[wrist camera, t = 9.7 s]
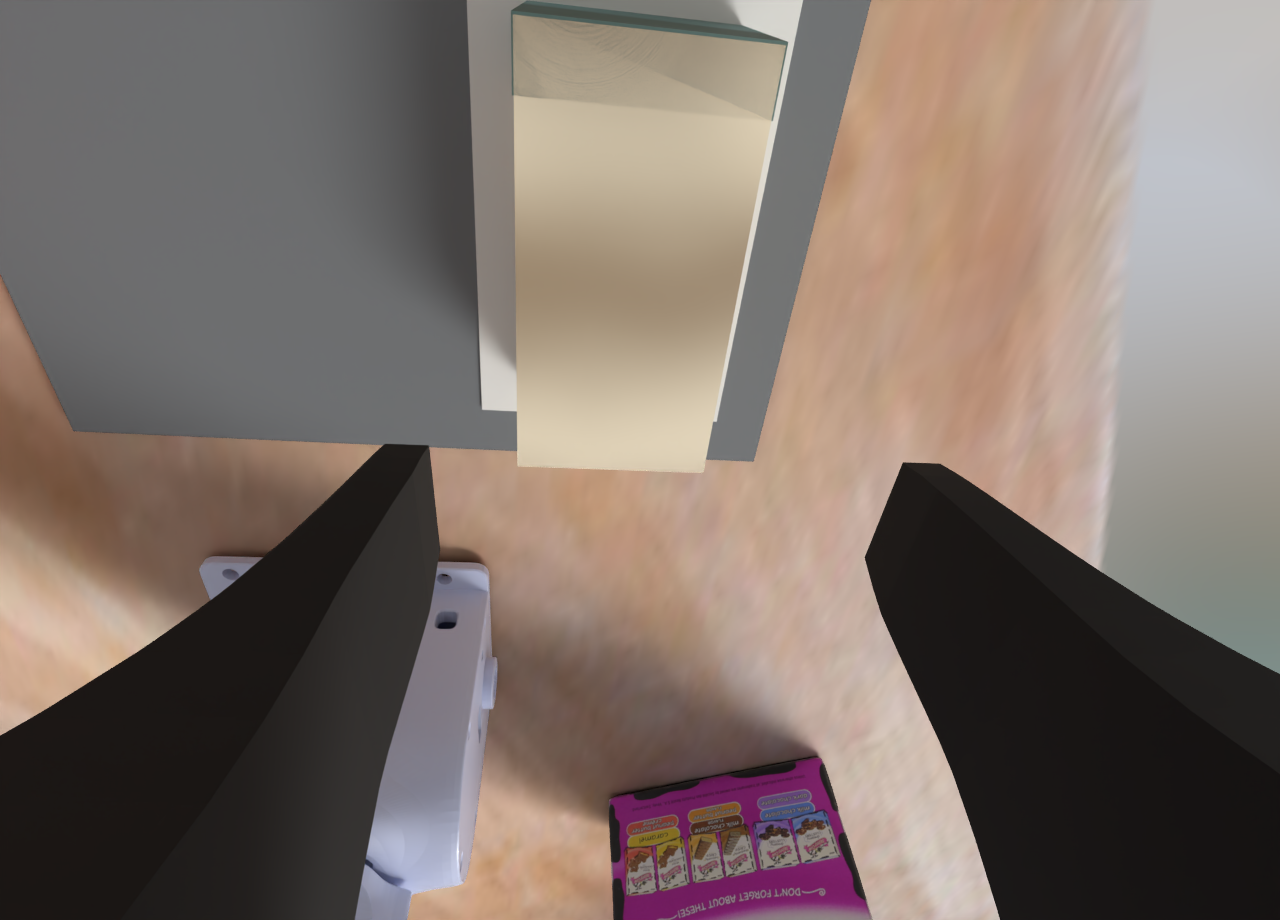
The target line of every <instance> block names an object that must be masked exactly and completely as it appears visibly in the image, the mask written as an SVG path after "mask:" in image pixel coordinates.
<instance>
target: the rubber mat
mask: <svg viewBox="0 0 1280 920" xmlns="http://www.w3.org/2000/svg"><path fill="white" fill-rule="evenodd" d="M525 1H527V0H0V274H1V276H2V279H3V281H4V283H5V285H6V287H7V289H8V291H9V294H10V296H11V298H12V300H13V302H14V304H15V306H16V309H17V311H18V313H19V315H20V317H21V319H22V322H23V324H24V326H25V328H26V330H27V332H28V334H29V337H30V339H31V341H32V343H33V345H34V347H35V349H36V352H37V354H38V356H39V358H40V360H41V362H42V364H43V367H44V369H45V371H46V373H47V375H48V377H49V379H50V382H51V384H52V386H53V388H54V390H55V392H56V394H57V397H58V399H59V401H60V403H61V405H62V407H63V410H64V412H65V414H66V416H67V418H68V420H69V422H70V425H71V427H72V429H73V431H80V432H102V433H125V434H147V435H169V436H192V437H214V438H237V439H259V440H281V441H304V442H326V443H349V444H371V445H384V444H407V445H429V447H438V448H461V449H483V450H506V451H517V371H516V274H515V176H514V95H512V63H511V10H512V9H514V8H516V7H517V6H519V5H520V4H522V3H524V2H525ZM528 1H537V2H546V3H554V4H563V5H572V6H580V7H589V8H598V9H606V10H615V11H624V12H632V13H641V14H650V15H658V16H667V17H676V18H684V19H693V20H702V21H710V22H719V23H728V24H736V25H743V26H746V27H748V28H751V29H754V30H757V31H760V32H762V33H765V34H768V35H771V36H773V37H776V38H779V39H782V40H784V41H787V42H788V47H787V52H786V57H785V62H784V67H783V72H782V77H781V83H780V88H779V93H778V98H777V103H776V108H775V113H774V118H773V121H771V125H770V130H769V136H768V141H767V146H766V151H765V156H764V162H763V167H762V172H761V177H760V182H759V187H758V193H757V198H756V203H755V208H754V213H753V218H752V224H751V229H750V234H749V239H748V244H747V249H746V255H745V260H744V265H743V270H742V275H741V280H740V286H739V291H738V296H737V301H736V306H735V311H734V317H733V322H732V327H731V332H730V337H729V343H728V348H727V353H726V358H725V363H724V368H723V374H722V379H721V384H720V389H719V394H718V399H717V405H716V410H715V415H714V420H713V425H712V430H711V436H710V441H709V446H708V451H707V456H706V459H707V460H730V461H752V462H754V458H755V454H756V450H757V446H758V442H759V438H760V435H761V431H762V427H763V423H764V419H765V415H766V411H767V407H768V403H769V399H770V395H771V391H772V387H773V383H774V379H775V376H776V372H777V368H778V364H779V360H780V356H781V352H782V348H783V344H784V340H785V336H786V332H787V328H788V324H789V321H790V317H791V313H792V309H793V305H794V301H795V297H796V293H797V289H798V285H799V281H800V277H801V273H802V269H803V265H804V262H805V258H806V254H807V250H808V246H809V242H810V238H811V234H812V230H813V226H814V222H815V218H816V214H817V210H818V207H819V203H820V199H821V195H822V191H823V187H824V183H825V179H826V175H827V171H828V167H829V163H830V159H831V155H832V151H833V148H834V144H835V140H836V136H837V132H838V128H839V124H840V120H841V116H842V112H843V108H844V104H845V100H846V96H847V93H848V89H849V85H850V81H851V77H852V73H853V69H854V65H855V61H856V57H857V53H858V49H859V45H860V41H861V37H862V34H863V30H864V26H865V22H866V18H867V14H868V10H869V6H870V2H871V0H528Z"/></svg>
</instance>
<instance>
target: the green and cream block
mask: <svg viewBox="0 0 1280 920" xmlns="http://www.w3.org/2000/svg"><path fill="white" fill-rule="evenodd" d="M787 47H788V42H787V41H784V40H782V39H779V38H776V37H773V36H771V35H768V34H765V33H762V32H760V31H757V30H754V29H751V28H748V27H746V26H743V25H736V24H728V23H719V22H710V21H702V20H693V19H684V18H676V17H667V16H658V15H650V14H641V13H632V12H624V11H615V10H606V9H598V8H589V7H580V6H572V5H563V4H554V3H546V2H537V1H528V0H527V1H525V2H524V3H522V4H520V5H519V6H517V7H516V8H514V9H512V10H511V63H512V95H514V176H515V274H516V371H517V466H523V467H551V468H578V469H606V470H633V471H661V472H689V473H703V472H704V467H705V461H706V456H707V451H708V446H709V441H710V436H711V430H712V425H713V420H714V415H715V410H716V405H717V399H718V394H719V389H720V384H721V379H722V374H723V368H724V363H725V358H726V353H727V348H728V343H729V337H730V332H731V327H732V322H733V317H734V311H735V306H736V301H737V296H738V291H739V286H740V280H741V275H742V270H743V265H744V260H745V255H746V249H747V244H748V239H749V234H750V229H751V224H752V218H753V213H754V208H755V203H756V198H757V193H758V187H759V182H760V177H761V172H762V167H763V162H764V156H765V151H766V146H767V141H768V136H769V130H770V125H771V121H773V118H774V113H775V108H776V103H777V98H778V93H779V88H780V83H781V77H782V72H783V67H784V62H785V57H786V52H787Z"/></svg>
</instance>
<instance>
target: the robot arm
mask: <svg viewBox="0 0 1280 920" xmlns="http://www.w3.org/2000/svg"><path fill="white" fill-rule="evenodd" d="M439 553H440V545H439V535H438V526H437V517H436V507H435V498H434V488H433V479H432V469H431V460H430V450H429V445H407V444H384V445H383V446H382V447H381V448H380V449H379V450H378V451H377V452H375V453H374V454H373V455H372V456H371V457H370V458H369V459H368V460H367V461H366V462H365V463H364V464H363V465H362V466H361V467H360V468H359V469H358V470H357V471H356V472H355V473H354V474H353V475H352V476H351V477H350V478H349V479H348V480H347V481H346V482H345V483H344V484H343V485H342V486H341V487H340V488H339V489H338V490H337V491H336V492H335V493H334V494H333V495H332V496H331V497H329V498H328V499H327V500H326V501H325V502H324V503H323V504H322V505H321V506H320V507H319V508H318V509H317V510H316V511H315V512H314V513H312V514H311V515H310V516H309V517H308V518H307V519H306V520H305V521H304V522H303V523H302V524H301V525H299V526H298V527H297V528H296V529H295V530H294V531H293V532H292V533H291V534H290V535H289V536H288V537H286V538H285V539H284V540H283V541H282V542H281V543H280V544H279V545H277V546H276V547H275V548H274V549H273V550H271V551H270V552H269V553H268V554H267V555H265V556H264V557H230V556H212V557H208V558H206V559H205V560H204V562H203V563H202V565H201V567H200V568H199V573H200V575H201V578H202V580H203V583H204V586H205V588H206V591H207V593H208V596H209V598H210V601H209V602H208V603H206V604H205V605H204V606H202V607H201V608H200V609H198V610H197V611H196V612H194V613H193V614H191V615H190V616H189V617H187V618H186V619H184V620H183V621H181V622H180V623H179V624H177V625H176V626H174V627H173V628H172V629H170V630H169V631H167V632H166V633H164V634H163V635H162V636H160V637H159V638H157V639H156V640H155V641H153V642H152V643H150V644H149V645H147V646H146V647H144V648H143V649H141V650H140V651H138V652H137V653H135V654H134V655H132V656H130V657H129V658H127V659H126V660H124V661H122V662H121V663H119V664H118V665H116V666H114V667H113V668H111V669H110V670H108V671H106V672H105V673H103V674H102V675H100V676H98V677H97V678H95V679H94V680H92V681H91V682H89V683H87V684H86V685H84V686H83V687H81V688H79V689H78V690H76V691H75V692H73V693H71V694H70V695H68V696H67V697H65V698H63V699H62V700H60V701H59V702H57V703H55V704H54V705H52V706H51V707H49V708H47V709H46V710H44V711H42V712H41V713H39V714H37V715H36V716H34V717H32V718H30V719H29V720H27V721H25V722H23V723H22V724H20V725H18V726H16V727H15V728H13V729H11V730H9V731H8V732H6V733H4V734H2V735H1V736H0V920H407V918H408V912H409V907H410V901H411V896H412V895H413V894H416V893H421V892H425V891H429V890H434V889H441V888H447V887H453V886H457V885H460V884H463V883H464V882H465V879H466V876H467V873H468V868H469V863H470V858H471V852H472V846H473V840H474V833H475V825H476V817H477V809H478V801H479V793H480V785H481V777H482V768H483V760H484V752H485V744H486V736H487V728H488V720H489V711H490V709H493V708H494V704H495V698H496V688H497V670H498V663H497V658H496V657H492V640H491V612H490V584H489V571H488V569H487V568H486V567H485V566H484V565H482V564H480V563H472V562H438V559H439ZM865 561H866V564H867V568H868V571H869V575H870V579H871V582H872V586H873V590H874V593H875V596H876V599H877V602H878V605H879V609H880V612H881V615H882V617H883V619H884V622H885V624H886V626H887V629H888V631H889V633H890V635H891V637H892V640H893V642H894V644H895V646H896V649H897V651H898V653H899V655H900V657H901V660H902V662H903V664H904V666H905V668H906V670H907V673H908V675H909V677H910V679H911V681H912V683H913V685H914V688H915V690H916V692H917V694H918V696H919V698H920V701H921V703H922V705H923V707H924V709H925V711H926V714H927V716H928V718H929V720H930V722H931V724H932V726H933V729H934V731H935V733H936V735H937V737H938V739H939V742H940V744H941V746H942V749H943V751H944V753H945V756H946V758H947V761H948V763H949V766H950V768H951V770H952V773H953V776H954V778H955V781H956V784H957V787H958V790H959V793H960V796H961V799H962V802H963V805H964V807H965V810H966V813H967V816H968V819H969V822H970V825H971V828H972V831H973V834H974V837H975V840H976V843H977V846H978V849H979V852H980V856H981V859H982V862H983V865H984V868H985V872H986V875H987V878H988V881H989V884H990V888H991V891H992V894H993V897H994V901H995V904H996V907H997V910H998V914H999V917H1000V920H1280V674H1279V673H1277V672H1274V671H1273V670H1271V669H1269V668H1267V667H1265V666H1263V665H1261V664H1259V663H1257V662H1255V661H1253V660H1251V659H1249V658H1247V657H1245V656H1243V655H1242V654H1240V653H1238V652H1236V651H1234V650H1232V649H1230V648H1228V647H1227V646H1225V645H1223V644H1221V643H1219V642H1218V641H1216V640H1214V639H1212V638H1211V637H1209V636H1207V635H1205V634H1203V633H1202V632H1200V631H1198V630H1196V629H1194V628H1193V627H1191V626H1189V625H1187V624H1185V623H1184V622H1182V621H1180V620H1178V619H1177V618H1175V617H1173V616H1171V615H1170V614H1168V613H1166V612H1165V611H1163V610H1161V609H1160V608H1158V607H1156V606H1155V605H1153V604H1151V603H1150V602H1148V601H1146V600H1145V599H1143V598H1142V597H1140V596H1138V595H1137V594H1135V593H1133V592H1132V591H1130V590H1129V589H1127V588H1126V587H1124V586H1123V585H1121V584H1119V583H1118V582H1116V581H1115V580H1113V579H1111V578H1110V577H1108V576H1107V575H1105V574H1104V573H1102V572H1100V571H1099V570H1097V569H1096V568H1094V567H1093V566H1091V565H1090V564H1088V563H1087V562H1085V561H1084V560H1082V559H1081V558H1079V557H1078V556H1076V555H1075V554H1073V553H1072V552H1070V551H1069V550H1067V549H1066V548H1064V547H1063V546H1062V545H1060V544H1059V543H1057V542H1056V541H1054V540H1053V539H1051V538H1050V537H1048V536H1047V535H1046V534H1044V533H1043V532H1041V531H1040V530H1038V529H1037V528H1035V527H1034V526H1033V525H1031V524H1030V523H1028V522H1027V521H1025V520H1024V519H1023V518H1021V517H1020V516H1018V515H1017V514H1015V513H1014V512H1013V511H1011V510H1010V509H1008V508H1007V507H1005V506H1004V505H1003V504H1001V503H1000V502H998V501H997V500H995V499H994V498H993V497H991V496H990V495H988V494H987V493H985V492H984V491H982V490H981V489H979V488H978V487H976V486H975V485H973V484H972V483H971V482H969V481H967V480H966V479H964V478H963V477H961V476H960V475H958V474H956V473H955V472H953V471H952V470H950V469H948V468H946V467H945V466H943V465H941V464H932V463H904V462H903V464H902V466H901V469H900V471H899V474H898V476H897V479H896V481H895V484H894V486H893V489H892V491H891V494H890V496H889V499H888V501H887V504H886V506H885V508H884V511H883V513H882V516H881V518H880V521H879V523H878V526H877V528H876V531H875V533H874V536H873V538H872V541H871V543H870V546H869V548H868V551H867V553H866V556H865ZM231 569H232V570H235V571H232V570H231ZM441 574H447V575H449V576H443V575H441Z"/></svg>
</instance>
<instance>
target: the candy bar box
mask: <svg viewBox="0 0 1280 920" xmlns="http://www.w3.org/2000/svg"><path fill="white" fill-rule="evenodd" d="M609 828H610V848H611V873H612V890H613V916H614V920H873V919H872V916H871V913H870V910H869V906H868V903H867V900H866V897H865V893H864V890H863V887H862V883H861V880H860V877H859V873H858V870H857V867H856V864H855V861H854V858H853V854H852V851H851V848H850V845H849V842H848V839H847V836H846V833H845V829H844V826H843V823H842V820H841V817H840V814H839V810H838V806H837V803H836V799H835V796H834V793H833V789H832V786H831V783H830V780H829V777H828V774H827V771H826V768H825V765H824V763H823V761H822V759H821V758H808V759H803V760H798V761H793V762H787V763H782V764H777V765H771V766H766V767H761V768H757V769H751V770H746V771H741V772H736V773H731V774H726V775H721V776H716V777H711V778H706V779H701V780H696V781H691V782H685V783H680V784H676V785H671V786H666V787H661V788H655V789H651V790H646V791H641V792H636V793H631V794H626V795H620V796H616V797H613V798H611V799H609Z"/></svg>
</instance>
